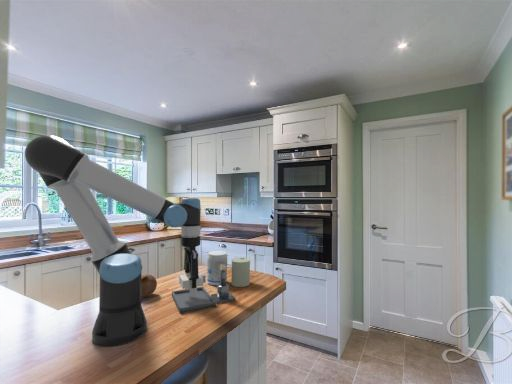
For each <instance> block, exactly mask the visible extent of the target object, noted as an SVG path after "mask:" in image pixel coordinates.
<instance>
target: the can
mask: <svg viewBox="0 0 512 384" xmlns="http://www.w3.org/2000/svg"><path fill="white" fill-rule="evenodd" d="M250 268H251V259H250V258H247V257H235V258H232V259H231V282H230V284H231V286H234V287H238V288H241V287H243V288H244V287H247V286H250V285H251V275H250V274H251V270H250Z"/></svg>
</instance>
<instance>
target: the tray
mask: <svg viewBox="0 0 512 384" xmlns="http://www.w3.org/2000/svg"><path fill="white" fill-rule="evenodd" d="M171 298H172V299H173V301H174V304H175V306H176V308H177V310H178V312H179V314H184V313H190V312H195V311H200V310H205V309H211V308H215V307H217V303H216V302H215V300H214V299H213V298H212V297H211V294H210V293H209V292H208V291H207V290H206V288H205V287H204V286H198V287H197V295H196V296H191V297H190V289H179V290H172V291H171Z"/></svg>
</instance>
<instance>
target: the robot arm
mask: <svg viewBox="0 0 512 384" xmlns="http://www.w3.org/2000/svg"><path fill="white" fill-rule="evenodd" d="M24 158H25V160H26V162H27V164H28V165H29V167H31V168H32V169H33V170H34V171H36V172H37V173H38V174H39V175H40V177H41V179H42V181H43V182H44V184H45V185H46V187H47V189H51V190H53V191H56V193H57V195H58V196H59V198H60V200H61V201H62V203H63V205H64V207H65V208H66V210H67V212H68V214H69V215H70V218H72V220H73V221H74V224H75V225H76V227H77V229H78V230H79V232H80V234H81V235H82V237H83V239H84V240H85V242H86V243H87V245H88V247H89V249H90V251H91V253H92V256H91V259H90V261H91V263H92V264H93V266H94V268H95V269H96V271H97V274H98V275H99V303H98V304H99V306H98V307H99V311H98V314H97V317H96V319H95V322H94V326H93V328H92V332H91V339H92V340H91V341H92V343H93V344H95V345H98V346H103V347H114V346H120V345H124V344H128V343H130V342H133V341H134V340H137V339H139V338H140V337H142V336H143V335H144V334H145V333H146V331H147V326H148V324H147V323H148V321H147V317H146V315H145V312H144V309H143V306H142V297H141V276H142V271H143V264H142V259H141V257H140V256H138V255H136V254H132V252H131V251H130V249H129V247H128V245H127V243H126V242H125V241H121V240H119V239H118V237H117V236H116V233H115V232H114V230H113V228H112V226H111V224H110V223H109V221H108V219H107V218H106V216H105V214H104V212H103V210H102V209H101V207H100V204H99V203H98V201H97V200H96V197H95V196H94V194H93V192H92V191H95V192H97V193H98V194H101V195H102V196H105V197H107V198H110V199H111V200H113V201H115V202H118V203H120V204H122V205H124V206H126V207H129V208H131V209H133V210H135V211H137V212H139V213H140V214H143V215H146V216H148V217H149V222H150V223H151V224H164V225H166V226H168V227H170V228H180V227H181V230H180V232H181V234H180V235H181V240H180V241H181V242H180V244H181V246H182V247H183V248H184V249H183V250H184V259H183V263H184V264H183V270H184V275H185V274H190V278H189V280H190V288H185V289H190V297H191V296H196V295H197V288H198V287H197V279H199V275H198V273H199V253H198V251H197V250H196V247H199V246H200V245H201V236H200V235H201V230H202V226H201V213H202V212H201V210H202V209H201V200H200V198H198V197H183V198H182V199H181V201H180V202H177V203H174V202H172V201H170V200H168V199H166V197H165V198H164V197H163V196H160V195H159V194H156V193H154V192H153V191H152V190H149V189H147V188H145V187H143V186H142V185H139V184H138V183H136V182H133V181H132V180H130V179H128V178H125V177H124V176H122V175H120V174H119V173H116V172H115V171H112V170H110V169H109V168H107V167H105V166H103V165H101V164H99V163H97V162H95V161H93V160H91V159H90V157H89V156H88V154H87V153H85V152H84V151H81V150H79V149H78V148H77V147H75V146H74V145H72V144H70V143H69V142H67V140H65V139H63V138H61V137H58V136H55V135H50V134H49V135H48V134H46V135H40V136H37V137H35V138H33V139H32V140H30V141H29V142H28V144H27V146H26V148H25V149H24ZM91 190H92V191H91Z"/></svg>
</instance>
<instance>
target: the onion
mask: <svg viewBox="0 0 512 384" xmlns="http://www.w3.org/2000/svg"><path fill="white" fill-rule="evenodd" d="M157 285H158V281H157V278H156V277H155V276H154V275H152V274H143V275H142V274H141V298H148V297H150V296H151V295H152V294H154V292H155V291H156V289H157Z"/></svg>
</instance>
